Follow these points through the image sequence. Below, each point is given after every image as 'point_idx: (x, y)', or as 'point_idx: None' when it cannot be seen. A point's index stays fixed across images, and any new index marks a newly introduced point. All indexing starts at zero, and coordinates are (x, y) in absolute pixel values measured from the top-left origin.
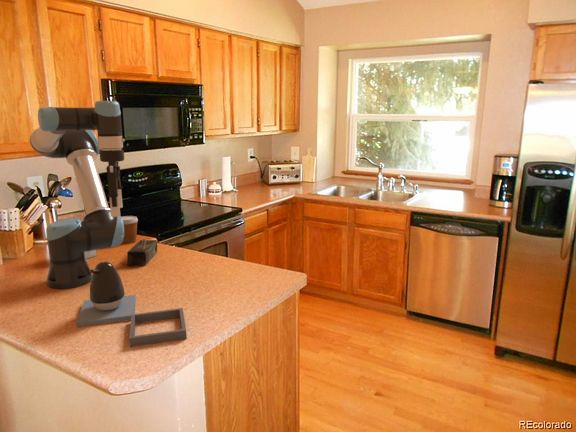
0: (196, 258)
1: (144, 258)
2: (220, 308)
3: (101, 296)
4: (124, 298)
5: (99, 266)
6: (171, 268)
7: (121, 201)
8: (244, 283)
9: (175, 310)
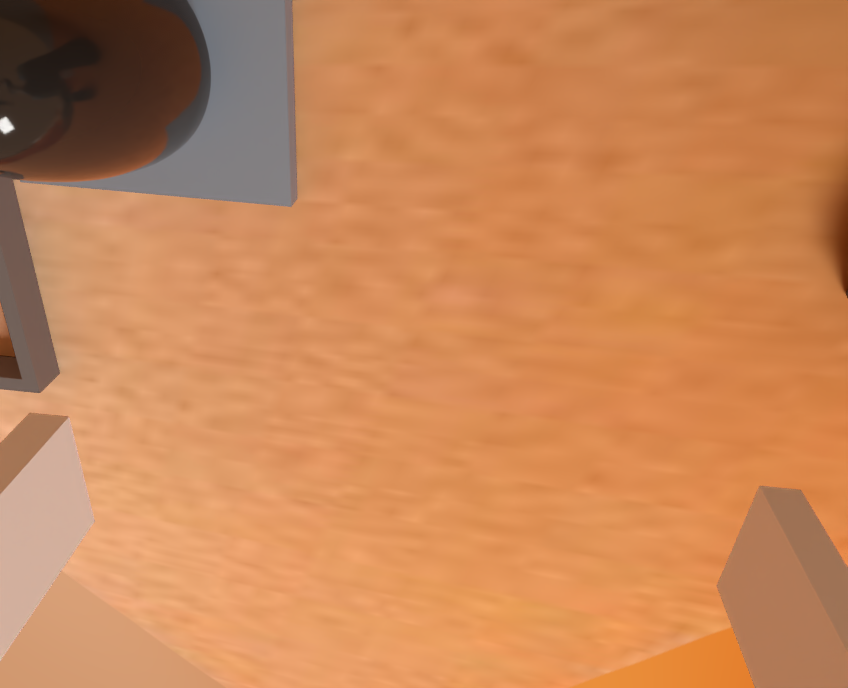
0: None
1: None
2: (108, 499)
3: None
4: (250, 144)
5: None
6: (691, 416)
7: (762, 683)
8: (336, 618)
9: (18, 364)
